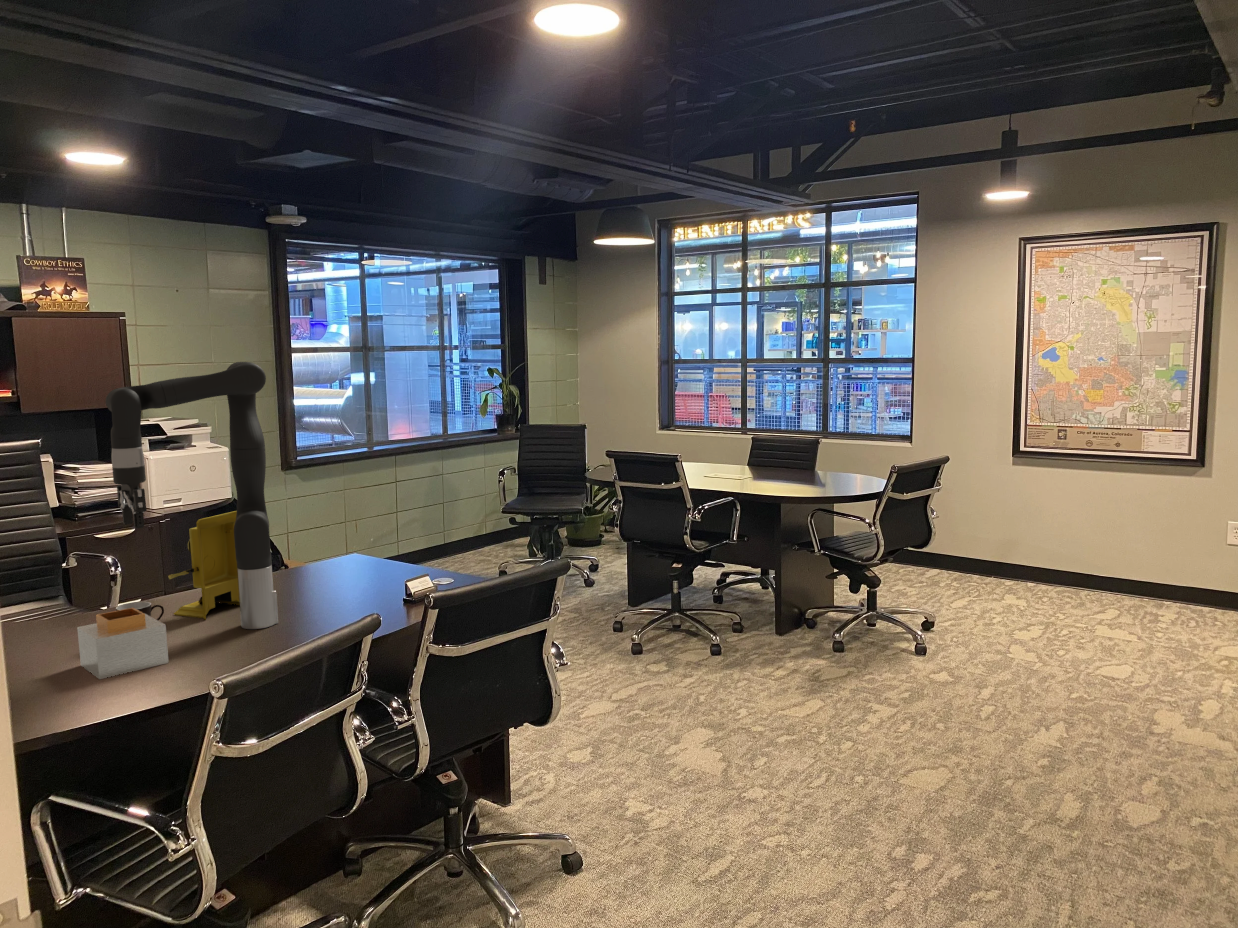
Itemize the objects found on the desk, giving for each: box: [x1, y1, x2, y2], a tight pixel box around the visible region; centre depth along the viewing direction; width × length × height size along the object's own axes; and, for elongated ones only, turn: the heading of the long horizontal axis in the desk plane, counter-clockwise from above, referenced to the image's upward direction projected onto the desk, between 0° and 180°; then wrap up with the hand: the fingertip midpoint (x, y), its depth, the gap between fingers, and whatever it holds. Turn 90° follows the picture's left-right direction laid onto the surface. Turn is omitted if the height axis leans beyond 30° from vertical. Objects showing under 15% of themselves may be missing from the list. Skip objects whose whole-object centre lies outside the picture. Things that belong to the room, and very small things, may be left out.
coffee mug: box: [115, 601, 165, 621], centre depth 253 cm, size 12×9×10 cm
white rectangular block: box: [76, 608, 169, 680], centre depth 234 cm, size 16×15×13 cm
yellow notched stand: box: [168, 510, 240, 621], centre depth 282 cm, size 31×14×30 cm, turn 160°
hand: (133, 525), depth 243 cm, fingers open, 8 cm apart
